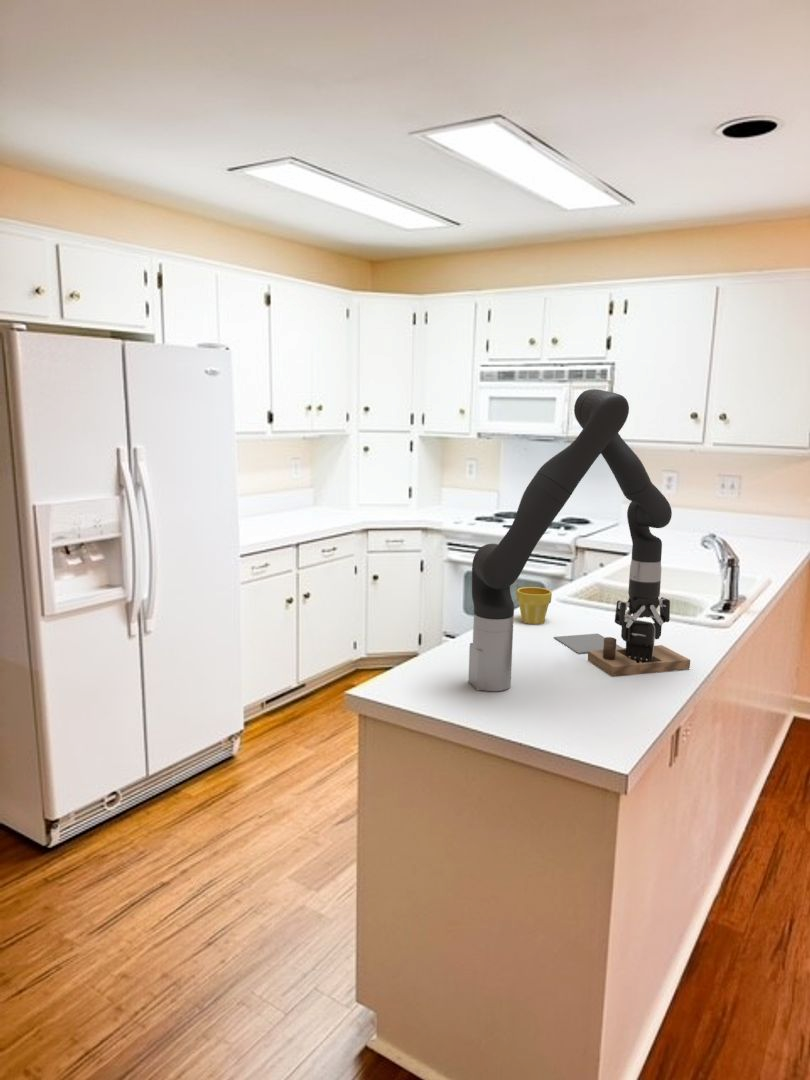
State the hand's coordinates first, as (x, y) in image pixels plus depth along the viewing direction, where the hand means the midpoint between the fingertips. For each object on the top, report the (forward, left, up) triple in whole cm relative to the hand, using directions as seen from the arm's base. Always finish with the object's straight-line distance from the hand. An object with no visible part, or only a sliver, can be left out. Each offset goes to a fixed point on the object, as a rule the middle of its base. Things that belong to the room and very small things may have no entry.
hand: (640, 639), depth 187 cm
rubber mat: (-4, +18, -7) cm, 20 cm away
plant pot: (-10, +42, -7) cm, 44 cm away
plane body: (0, 0, -7) cm, 7 cm away
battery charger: (0, 0, -7) cm, 7 cm away
